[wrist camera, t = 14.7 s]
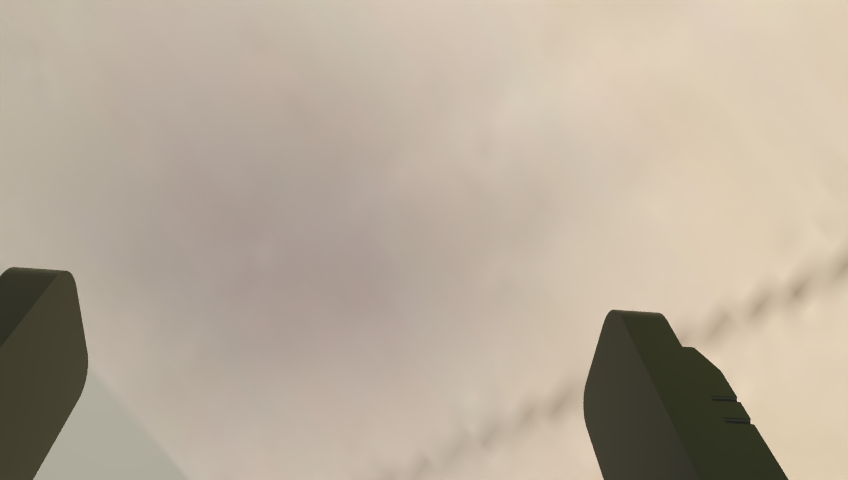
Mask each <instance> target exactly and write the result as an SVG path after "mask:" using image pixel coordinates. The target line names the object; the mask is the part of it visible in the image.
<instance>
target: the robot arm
mask: <svg viewBox="0 0 848 480" xmlns="http://www.w3.org/2000/svg"><path fill="white" fill-rule="evenodd" d="M87 369H88V354H87V347H86V341H85V335H84V329H83V324H82V318H81V312H80V306H79V300H78V294H77V288H76V283H75V280H74V278H73V276H72V274H71V273H70V272H68V271H62V270H47V269H33V268H18V267H12V268H9V269H7V270H6V271H5V272H4V273H3V274H2V275H1V276H0V480H33V478H34V477H35V475H36V473H37V471H38V470H39V468H40V466H41V464H42V463H43V461H44V459H45V457H46V455H47V454H48V452H49V450H50V448H51V447H52V445H53V443H54V441H55V440H56V438H57V436H58V434H59V433H60V431H61V429H62V428H63V426H64V424H65V422H66V421H67V419H68V417H69V415H70V413H71V412H72V410H73V408H74V406H75V405H76V403H77V401H78V399H79V397H80V396H81V393H82V390H83V388H84V385H85V381H86V376H87ZM583 403H584V418H585V423H586V427H587V430H588V433H589V436H590V439H591V442H592V445H593V448H594V451H595V454H596V457H597V460H598V463H599V466H600V469H601V472H602V475H603V478H604V480H788V478H787V477H786V475H785V473H784V472H783V470H782V469H781V467H780V465H779V464H778V462H777V461H776V459H775V457H774V456H773V454H772V452H771V451H770V449H769V448H768V446H767V444H766V443H765V441H764V440H763V438H762V436H761V435H760V433H759V432H758V430H757V428H756V427H755V425H753V424H751V423H750V417H749V415H748V414H747V412H746V411H745V409H744V407H743V406H742V404H741V403H740V402H737V396H736V395H735V393H734V391H733V390H732V388H731V387H730V385H729V383H728V382H727V380H726V379H725V377H724V375H723V374H722V372H721V371H720V370H719V369H718V368H717V367H716V366H715V365H713V364H712V363H711V362H710V361H709V360H708V359H706V358H705V357H704V356H703V355H702V354H701V353H699V352H698V351H697V350H696V349H695V348H693V347H682V346H681V344H680V342H679V340H678V339H677V337H676V335H675V333H674V332H673V330H672V328H671V327H670V325H669V323H668V321H667V320H666V318H665V317H664V316H663V315H662V314H661V313H653V312H638V311H623V310H611V311H610V312H609V313H608V314H607V316H606V318H605V321H604V324H603V327H602V330H601V334H600V337H599V341H598V344H597V347H596V351H595V354H594V358H593V361H592V365H591V368H590V371H589V375H588V378H587V382H586V385H585V390H584V402H583Z"/></svg>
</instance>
